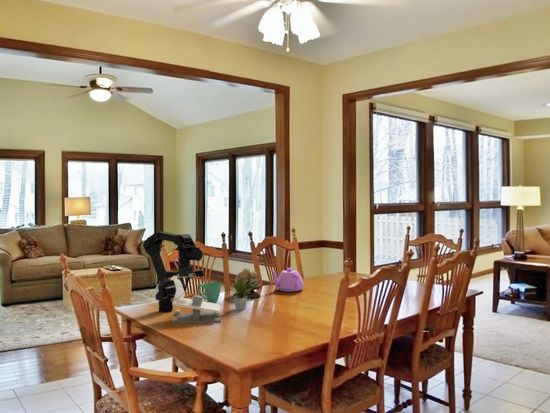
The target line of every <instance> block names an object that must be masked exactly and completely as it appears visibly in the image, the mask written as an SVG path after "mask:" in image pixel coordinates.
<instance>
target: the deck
mask: <svg viewBox="0 0 550 413" xmlns="http://www.w3.org/2000/svg"><path fill="white" fill-rule="evenodd" d="M193 295H194V296H193V298H187V297H180V296H175V297H174V298H173V300H172V301H173V304H172V305H173V306H176V307H182V308H187V309H191V310H193V309H198V310H200V311H205V312H216V313H219V311H220V304H219V303H217V302H216V303H210V302H208V301H204V299H203V296H201V295H200V294H193Z"/></svg>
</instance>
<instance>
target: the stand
mask: <svg viewBox="0 0 550 413" xmlns="http://www.w3.org/2000/svg"><path fill="white" fill-rule="evenodd" d="M170 320H171V321H170V325H189V324H190V325H193V324H214V323H215V324H217V323H220V324H221V323H222V313H221V311H220V310H219V313H216V312H210V311H206V312H201V310H198V309H192V312H186V313H185V312H183V313H181V310H180V309H175V310H173V315H172V316H171V318H170Z"/></svg>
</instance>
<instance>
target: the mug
mask: <svg viewBox="0 0 550 413" xmlns="http://www.w3.org/2000/svg"><path fill="white" fill-rule="evenodd" d="M202 288H203V289H204V292H203V291H202V290H201V289H202ZM221 289H222V284H221V282H206V283H199V284H198V286H197V292H198V295H200V296H203V297H202V299H203V300H206V301H207V302H210V303H216V304H217V303H218V301H219V298H220V294H221Z"/></svg>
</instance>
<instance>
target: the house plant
mask: <svg viewBox="0 0 550 413" xmlns="http://www.w3.org/2000/svg"><path fill="white" fill-rule="evenodd" d="M234 279H235V278H234ZM235 281H236V285H235V283H233V282H231V285H232V286H233V288H234V289H229V291H232V292H234V293H236V294H237V296H235V297H234V296H233V301H234V306H235V307H234V308H235V310H236V311H244V310H246V307H247V302H248V301H247V300H248V299H247V296H244V295H245V293H246V292H249V291H251V290H250V289H252V288H250V289H249V290H247V289H246V287H249V286H252V285H249V283H248V284H247V285H246V282H247V281H248V280H246V281H245V279H244V281H245V282H244V281H243V282H242V284H241V283H240V280H239V283H238V282H237V280H236V279H235V280H234V282H235ZM253 282H254V281H253ZM250 284H252V283H251V282H250ZM245 285H246V286H245ZM248 285H249V286H248ZM244 289H245V290H247V291H245V290H244ZM243 290H244V291H245V292H244V291H243ZM249 293H250V292H249ZM236 294H235V295H236Z"/></svg>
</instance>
